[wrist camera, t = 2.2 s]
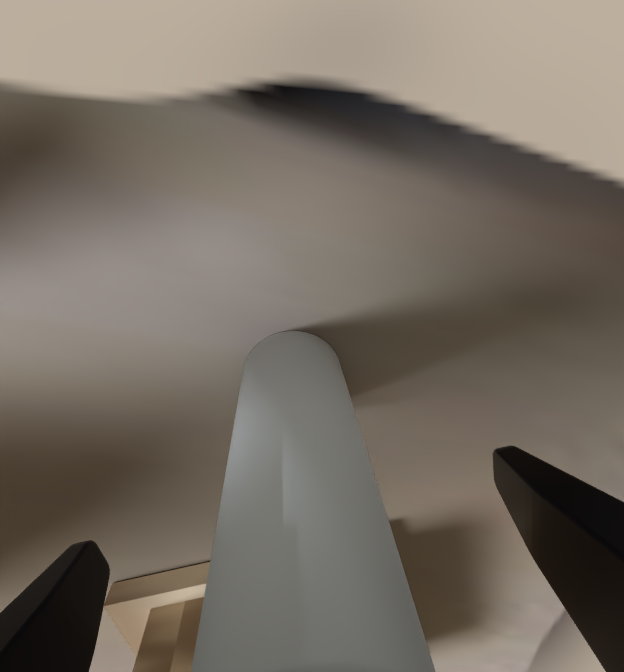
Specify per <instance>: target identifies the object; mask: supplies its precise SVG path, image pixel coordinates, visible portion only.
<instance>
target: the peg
mask: <svg viewBox="0 0 624 672" xmlns="http://www.w3.org/2000/svg"><path fill="white" fill-rule="evenodd" d="M191 672H435V669H434V665H433V662H432V659H431V656H430V652H429V649H428V646H427V643H426V640H425V636H424V633H423V630H422V627H421V623H420V620H419V617H418V614H417V610H416V607H415V604H414V601H413V598H412V594H411V591H410V588H409V585H408V581H407V578H406V575H405V572H404V569H403V565H402V562H401V559H400V556H399V552H398V549H397V546H396V543H395V539H394V536H393V533H392V530H391V527H390V523H389V520H388V517H387V514H386V510H385V507H384V504H383V501H382V498H381V494H380V491H379V488H378V485H377V481H376V478H375V475H374V472H373V468H372V465H371V462H370V459H369V456H368V452H367V449H366V446H365V443H364V439H363V436H362V433H361V430H360V427H359V423H358V420H357V417H356V414H355V410H354V407H353V404H352V401H351V397H350V394H349V391H348V388H347V385H346V381H345V378H344V375H343V372H342V368H341V365H340V362H339V359H338V357H337V355H336V353H335V352H334V350H333V349H332V348H331V347H330V345H329V344H327V343H326V342H325V341H324V340H322V339H321V338H319V337H317V336H315V335H313V334H310V333H307V332H302V331H285V332H280V333H277V334H274V335H271V336H269V337H267V338H265V339H264V340H262V341H261V342H260V343H258V344H257V345H256V346H255V347H254V348H253V350H252V351H251V352H250V354H249V355H248V357H247V359H246V362H245V365H244V370H243V375H242V381H241V387H240V393H239V398H238V404H237V410H236V416H235V421H234V427H233V433H232V439H231V445H230V450H229V456H228V462H227V468H226V473H225V479H224V485H223V491H222V496H221V502H220V508H219V514H218V519H217V525H216V531H215V537H214V542H213V548H212V554H211V560H210V565H209V571H208V577H207V583H206V588H205V594H204V600H203V606H202V611H201V617H200V623H199V629H198V634H197V640H196V646H195V652H194V657H193V663H192V669H191Z"/></svg>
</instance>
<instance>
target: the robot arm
mask: <svg viewBox="0 0 624 672" xmlns="http://www.w3.org/2000/svg"><path fill="white" fill-rule="evenodd" d="M493 469H494V481H495V484H496V487H497V489H498V491H499V493H500V495H501V497H502V499H503V501H504V503H505V505H506V507H507V509H508V511H509V513H510V515H511V517H512V519H513V521H514V523H515V525H516V527H517V528H518V530H519V532H520V534H521V536H522V538H523V540H524V542H525V544H526V546H527V548H528V550H529V552H530V554H531V555H532V557H533V559H534V560H535V562H536V564H537V565H538V567H539V568H540V570H541V572H542V573H543V575H544V576H545V578H546V579H547V581H548V582H549V584H550V586H551V587H552V589H553V590H554V592H555V593H556V595H557V596H558V598H559V600H560V601H561V603H562V604H563V606H564V607H565V609H566V610H567V612H568V613H569V615H570V617H571V618H572V620H573V621H574V623H575V624H576V626H577V627H578V629H579V631H580V632H581V634H582V635H583V637H584V638H585V640H586V641H587V643H588V645H589V646H590V647H591V649H592V651H593V652H594V654H595V655H596V657H597V658H598V660H599V662H600V663H601V665H602V666H603V668H604V669H605V671H606V672H624V502H622V501H620V500H619V499H617V498H615V497H613V496H611V495H609V494H607V493H605V492H603V491H601V490H599V489H597V488H595V487H593V486H591V485H589V484H587V483H585V482H583V481H582V480H580V479H578V478H576V477H574V476H572V475H570V474H568V473H566V472H564V471H562V470H560V469H558V468H556V467H554V466H552V465H550V464H548V463H546V462H545V461H543V460H541V459H539V458H537V457H535V456H533V455H531V454H529V453H527V452H525V451H523V450H521V449H519V448H517V447H515V446H506V447H501V448H497V449H495V450H494V452H493ZM109 576H110V569H109V564H108V562H107V561H106V559H105V557H104V556H103V554H102V552H101V551H100V549H99V547H98V546H97V544H96V543H95V542H94V541H90V540H89V541H84V542H80V543H76V544H73V545H72V546H70V547H69V548H68V549H67V550H66V551H65V552H64V553H63V554H62V555H61V556H60V557H59V558H58V559H56V560H55V561H54V562H53V563H52V564H51V565H50V566H49V567H48V568H47V569H46V570H45V571H44V572H43V573H42V574H41V575H40V576H39V577H38V578H36V579H35V580H34V581H33V582H32V583H31V584H30V585H29V586H28V587H27V588H26V589H25V590H24V591H23V592H22V593H21V594H20V595H19V596H18V597H17V598H15V599H14V600H13V601H12V602H11V603H10V604H9V605H8V606H7V607H6V608H5V609H4V610H3V611H2V612H1V613H0V672H89V668H90V665H91V661H92V658H93V654H94V650H95V645H96V641H97V636H98V631H99V626H100V621H101V616H102V611H103V606H104V601H105V596H106V591H107V586H108V581H109Z"/></svg>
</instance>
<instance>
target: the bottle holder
mask: <svg viewBox="0 0 624 672" xmlns="http://www.w3.org/2000/svg"><path fill="white" fill-rule="evenodd" d="M209 565H210V562H207V563H202V564H198V565H193V566H189V567H184V568H180V569H175V570H171V571H166V572H162V573H157V574H153V575H148V576H144V577H139V578H135V579H130V580H126V581H121V582H117V583H113V584H112V586H111V588H110V591H109V593H108V596H107V598H106V601H105V603H104V606H103V607H104V608H105V610H106V611H107V613H108V614H109V616H110V618H111V619H112V621H113V622H114V624H115V625H116V627H117V628H118V630H119V631H120V633H121V634H122V636H123V637H124V639H125V640H126V642H127V643H128V645H129V646H130V648H131V649H132V651H133V653H134V654H135V656H136V657H137V658H136V661H135V665H134V668H133V672H191V669H192V663H193V657H194V652H195V646H196V640H197V634H198V629H199V623H200V617H201V611H202V606H203V600H204V594H205V588H206V583H207V577H208V571H209Z"/></svg>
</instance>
